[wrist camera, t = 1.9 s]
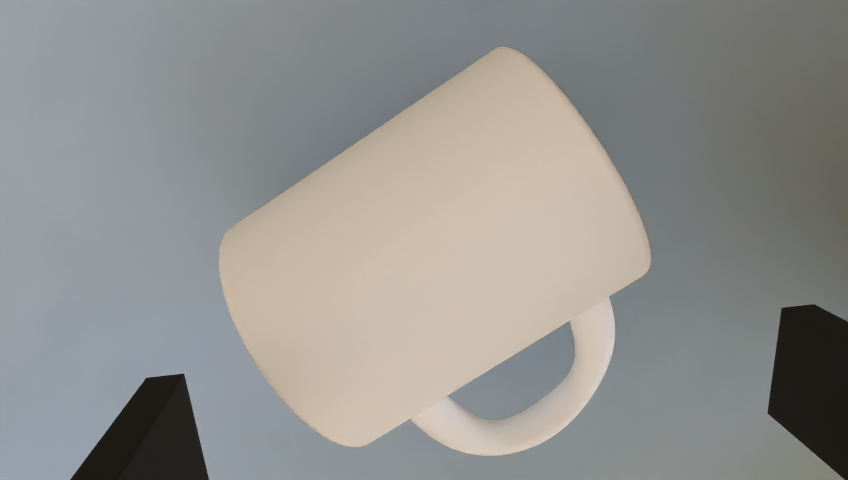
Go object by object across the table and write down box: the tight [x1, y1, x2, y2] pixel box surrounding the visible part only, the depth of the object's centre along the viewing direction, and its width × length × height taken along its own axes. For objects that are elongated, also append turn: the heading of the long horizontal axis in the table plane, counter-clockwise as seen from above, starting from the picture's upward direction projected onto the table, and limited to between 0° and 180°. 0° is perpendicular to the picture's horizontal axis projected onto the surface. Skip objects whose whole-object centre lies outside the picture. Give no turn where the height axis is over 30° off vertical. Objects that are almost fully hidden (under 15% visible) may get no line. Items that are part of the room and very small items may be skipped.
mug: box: [218, 47, 651, 456], centre depth 17 cm, size 12×10×8 cm
